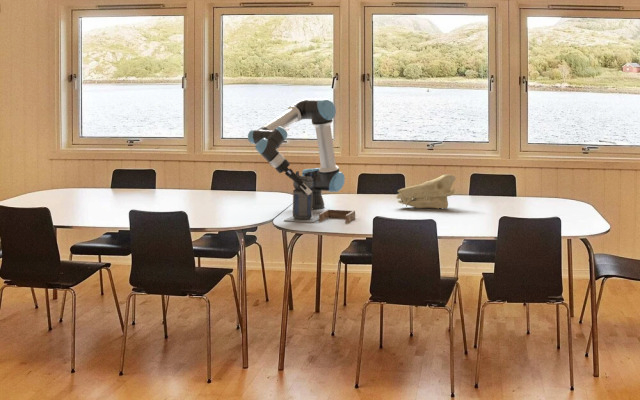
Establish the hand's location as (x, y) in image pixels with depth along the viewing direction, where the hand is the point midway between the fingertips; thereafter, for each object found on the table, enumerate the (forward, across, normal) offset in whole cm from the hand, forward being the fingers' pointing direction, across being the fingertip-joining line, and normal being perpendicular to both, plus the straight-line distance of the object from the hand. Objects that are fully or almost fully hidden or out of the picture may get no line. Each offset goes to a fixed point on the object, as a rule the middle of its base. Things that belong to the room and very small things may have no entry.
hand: (308, 191), depth 393 cm
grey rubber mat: (+9, 0, -12) cm, 15 cm away
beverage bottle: (+8, 0, -12) cm, 14 cm away
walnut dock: (+21, +3, 0) cm, 21 cm away
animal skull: (+64, -39, +43) cm, 87 cm away
